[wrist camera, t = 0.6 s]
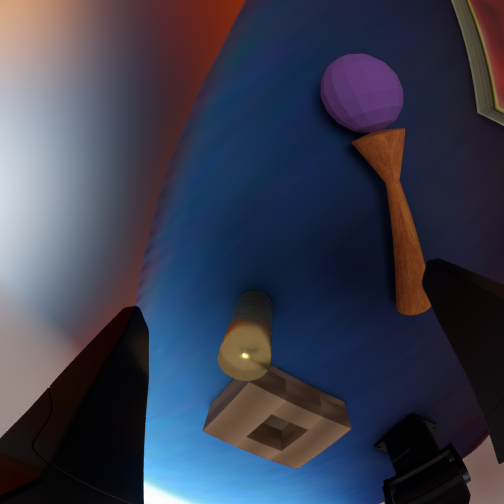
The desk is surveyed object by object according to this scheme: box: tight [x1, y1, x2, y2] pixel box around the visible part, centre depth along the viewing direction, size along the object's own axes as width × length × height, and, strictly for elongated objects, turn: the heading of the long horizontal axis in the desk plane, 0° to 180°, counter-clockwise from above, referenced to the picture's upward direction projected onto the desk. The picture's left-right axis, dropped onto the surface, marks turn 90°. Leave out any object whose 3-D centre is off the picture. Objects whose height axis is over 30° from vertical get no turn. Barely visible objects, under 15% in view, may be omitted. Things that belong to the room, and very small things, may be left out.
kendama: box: [321, 54, 431, 315], centre depth 18 cm, size 6×6×20 cm
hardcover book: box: [451, 0, 504, 126], centre depth 13 cm, size 12×21×4 cm, turn 176°
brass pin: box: [218, 290, 273, 381], centre depth 19 cm, size 3×3×8 cm
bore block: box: [203, 365, 352, 469], centre depth 23 cm, size 11×8×4 cm
